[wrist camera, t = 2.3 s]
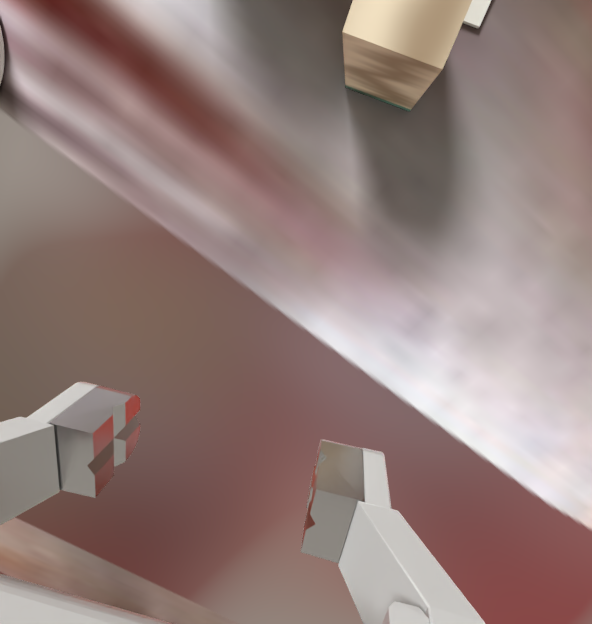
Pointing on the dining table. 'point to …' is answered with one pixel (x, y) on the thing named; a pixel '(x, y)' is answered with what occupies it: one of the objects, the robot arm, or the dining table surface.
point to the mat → (476, 12)
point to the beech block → (399, 46)
